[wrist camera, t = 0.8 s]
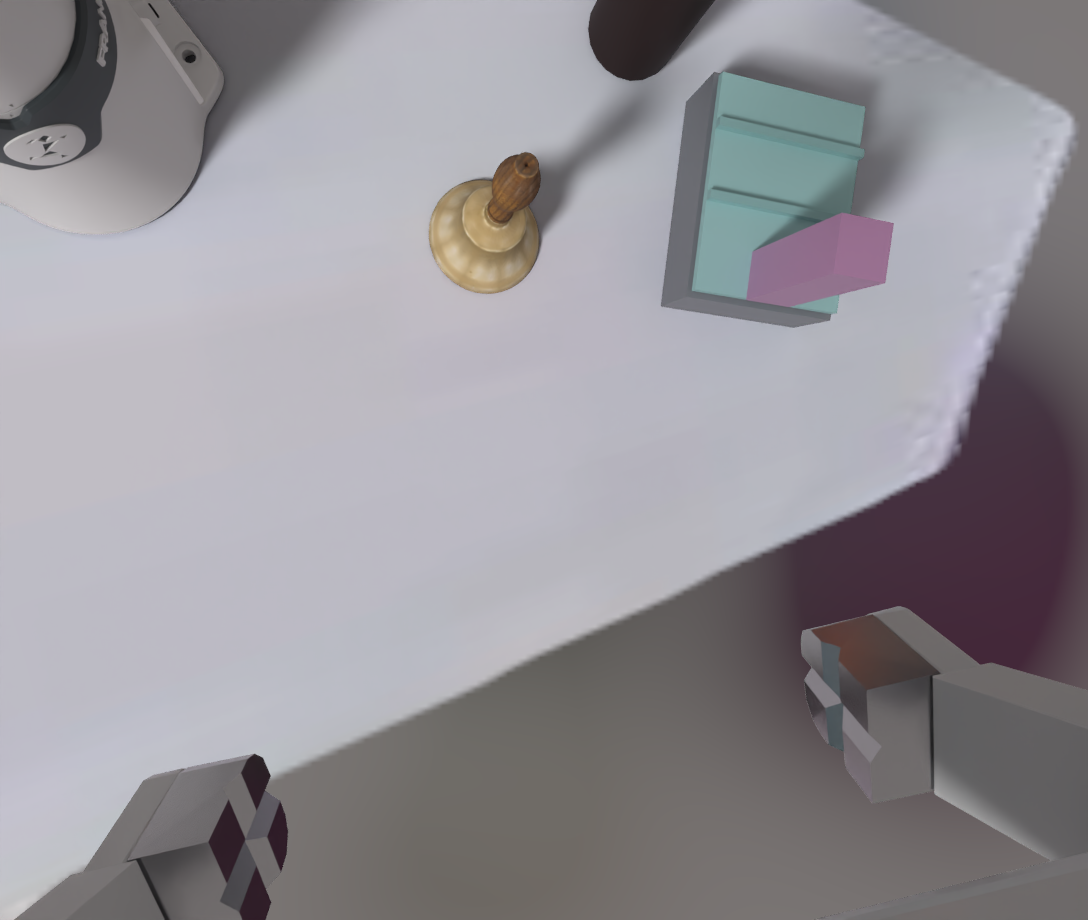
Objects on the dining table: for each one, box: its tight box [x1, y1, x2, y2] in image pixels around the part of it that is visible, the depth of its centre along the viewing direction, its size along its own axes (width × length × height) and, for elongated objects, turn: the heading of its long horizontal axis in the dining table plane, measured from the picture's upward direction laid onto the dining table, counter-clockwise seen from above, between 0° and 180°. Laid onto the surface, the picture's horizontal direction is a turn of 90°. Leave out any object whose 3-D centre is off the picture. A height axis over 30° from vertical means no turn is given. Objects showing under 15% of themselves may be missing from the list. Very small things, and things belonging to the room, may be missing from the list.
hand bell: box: [429, 152, 541, 294], centre depth 42 cm, size 8×8×16 cm
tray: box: [661, 72, 831, 327], centre depth 51 cm, size 16×12×5 cm
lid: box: [692, 72, 894, 314], centre depth 43 cm, size 15×12×11 cm
